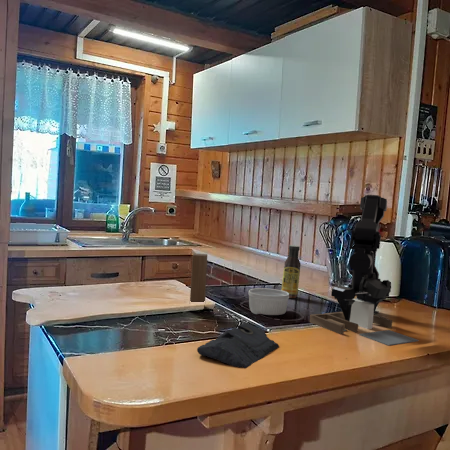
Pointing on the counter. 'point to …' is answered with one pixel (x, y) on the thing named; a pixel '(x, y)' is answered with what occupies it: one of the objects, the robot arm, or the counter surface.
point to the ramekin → (268, 301)
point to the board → (362, 314)
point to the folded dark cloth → (239, 346)
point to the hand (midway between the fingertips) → (358, 320)
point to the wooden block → (198, 278)
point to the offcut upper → (336, 322)
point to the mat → (388, 337)
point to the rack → (339, 317)
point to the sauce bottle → (291, 272)
